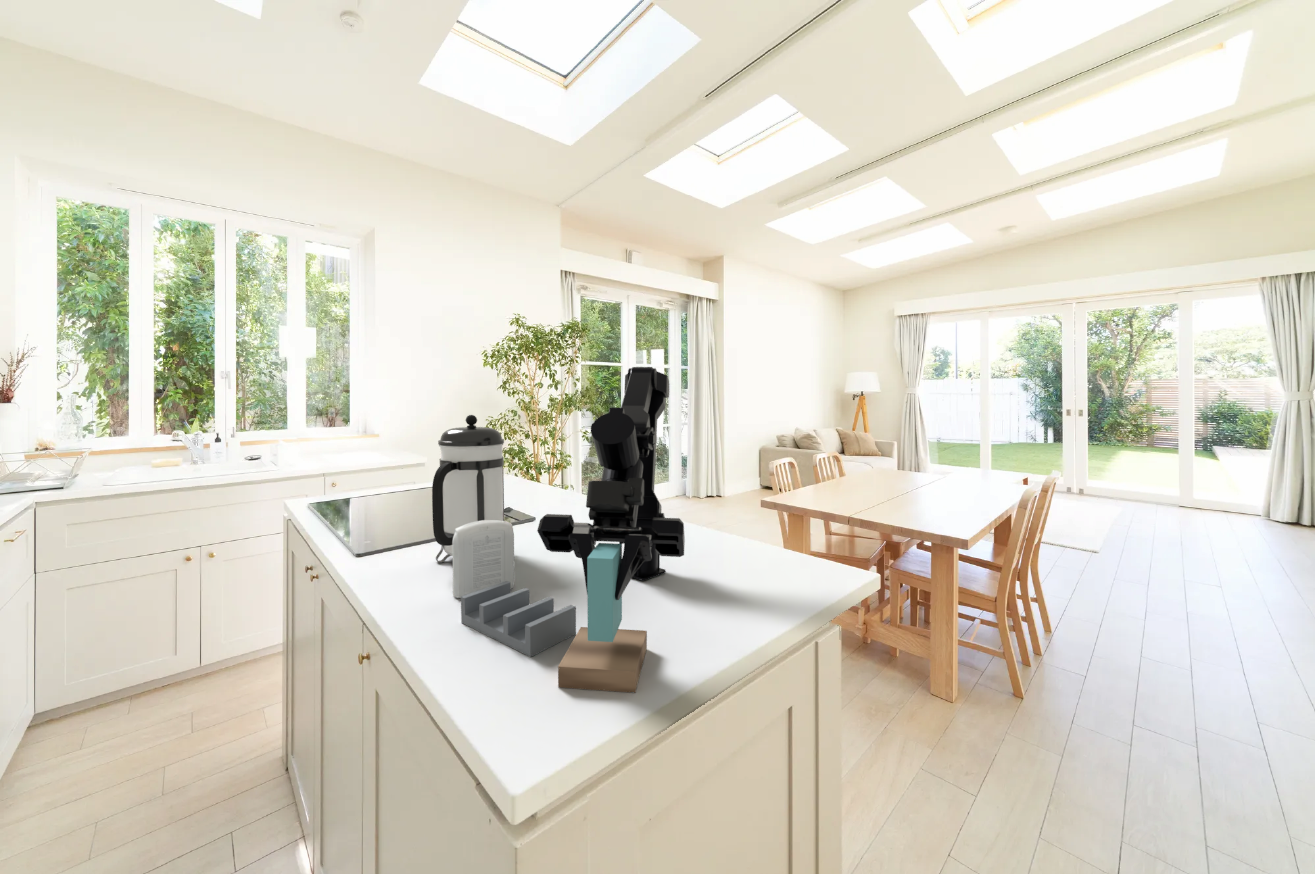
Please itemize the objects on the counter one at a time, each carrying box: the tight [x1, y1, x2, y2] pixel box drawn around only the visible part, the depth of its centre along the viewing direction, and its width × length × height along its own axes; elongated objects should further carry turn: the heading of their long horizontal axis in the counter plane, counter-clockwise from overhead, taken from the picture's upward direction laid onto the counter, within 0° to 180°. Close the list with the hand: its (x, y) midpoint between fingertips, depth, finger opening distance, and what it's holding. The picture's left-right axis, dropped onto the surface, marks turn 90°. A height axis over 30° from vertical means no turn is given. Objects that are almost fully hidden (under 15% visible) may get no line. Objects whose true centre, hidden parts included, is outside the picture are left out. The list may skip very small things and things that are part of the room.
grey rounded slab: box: [452, 520, 515, 599], centre depth 85 cm, size 10×4×12 cm, turn 123°
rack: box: [460, 581, 577, 658], centre depth 71 cm, size 8×16×4 cm, turn 53°
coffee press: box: [431, 414, 505, 564], centre depth 101 cm, size 17×16×30 cm
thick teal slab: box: [586, 542, 623, 642], centre depth 60 cm, size 6×3×10 cm, turn 174°
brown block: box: [557, 626, 648, 694], centre depth 61 cm, size 10×9×2 cm
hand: (603, 598), depth 59 cm, fingers closed on thick teal slab, 3 cm apart
